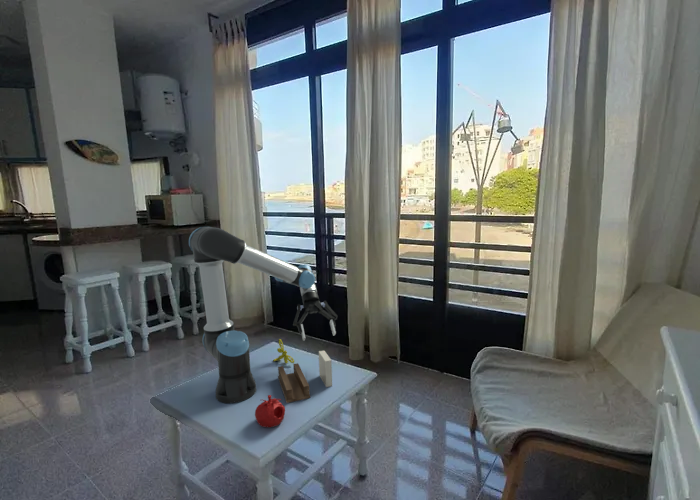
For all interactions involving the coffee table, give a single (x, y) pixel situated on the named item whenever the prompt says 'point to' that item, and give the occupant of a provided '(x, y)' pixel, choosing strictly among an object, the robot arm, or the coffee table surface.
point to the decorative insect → (283, 354)
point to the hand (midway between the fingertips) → (319, 336)
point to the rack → (293, 384)
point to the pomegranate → (270, 412)
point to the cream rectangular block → (325, 368)
